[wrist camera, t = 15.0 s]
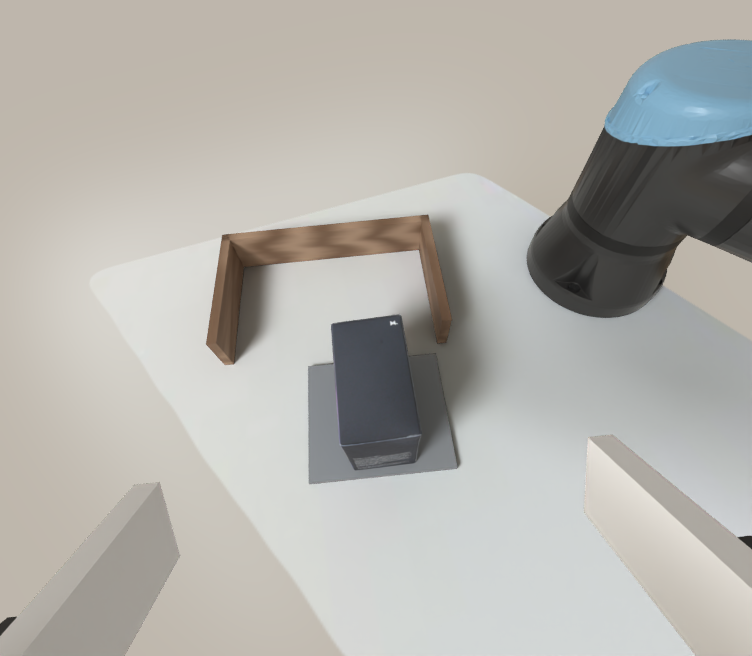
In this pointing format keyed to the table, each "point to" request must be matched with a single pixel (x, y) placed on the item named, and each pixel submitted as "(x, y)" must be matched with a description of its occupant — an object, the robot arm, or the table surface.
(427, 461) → the rubber mat
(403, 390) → the small box
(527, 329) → the table surface
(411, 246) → the walnut bay
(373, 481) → the table surface
